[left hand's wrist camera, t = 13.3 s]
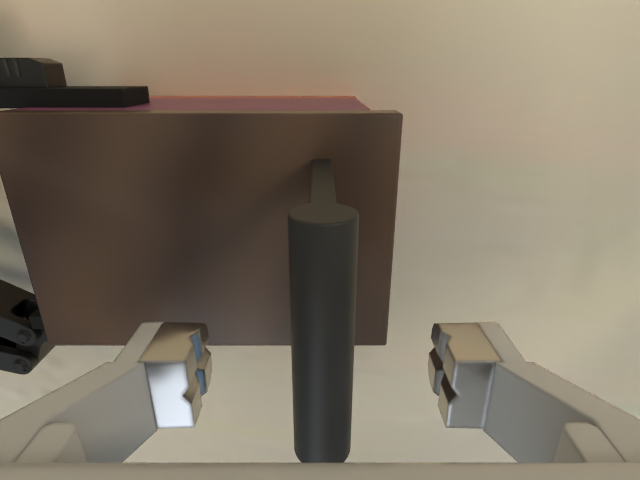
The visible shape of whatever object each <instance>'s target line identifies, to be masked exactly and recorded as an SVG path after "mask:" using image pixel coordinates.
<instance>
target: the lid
mask: <svg viewBox="0 0 640 480" xmlns="http://www.w3.org/2000/svg"><path fill="white" fill-rule="evenodd" d="M402 119H403V115H402V114H401V113H399V112H397V111H395V110H4V111H0V174H1V178H2V181H3V185H4V188H5V192H6V195H7V199H8V202H9V206H10V209H11V213H12V216H13V220H14V223H15V227H16V230H17V234H18V237H19V241H20V244H21V248H22V251H23V255H24V258H25V262H26V265H27V269H28V272H29V276H30V279H31V283H32V286H33V290H34V293H35V297H36V300H37V304H38V307H39V311H40V314H41V318H42V321H43V325H44V328H45V332H46V335H47V339H48V342H49V345H126V344H127V343H128V341H129V340H130V338H131V337H132V336H133V334H134V333H135V331H136V330H137V329H138V327H139V326H140V324H141V323H144V322H164V323H165V322H186V323H205V324H206V325H207V328H208V334H209V339H208V342H207V344H206V345H291V348H292V383H293V417H294V449H295V453H296V455H297V457H298V459H299V460H300V461H301V462H302V463H343V462H344V461H345V460H346V458H347V457H348V455H349V452H350V442H351V416H352V389H353V362H354V345H386V342H387V328H388V314H389V300H390V286H391V272H392V258H393V244H394V230H395V216H396V202H397V188H398V175H399V161H400V147H401V133H402Z"/></svg>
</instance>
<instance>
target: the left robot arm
mask: <svg viewBox="0 0 640 480" xmlns="http://www.w3.org/2000/svg"><path fill="white" fill-rule="evenodd" d="M208 339H209V334H208V328H207V325H206V324H205V323H186V322H165V323H164V322H144V323H141V324H140V326H139V327H138V329H137V330H136V331H135V333H134V334H133V336H132V337H131V338H130V340H129V341H128V343H127V344H126V345H125V347H124V348H123V350H122V351H121V352H120V354H119V355H118V357H117V358H116V359H115V361H114V362H107V363H105V364H103V365H101V366H99V367H97V368H96V369H94V370H92V371H90V372H88V373H86V374H84V375H83V376H81V377H79V378H77V379H75V380H73V381H71V382H70V383H68V384H66V385H64V386H62V387H60V388H58V389H57V390H55V391H53V392H51V393H49V394H47V395H45V396H43V397H42V398H40V399H38V400H36V401H34V402H32V403H30V404H29V405H27V406H25V407H23V408H21V409H19V410H17V411H16V412H14V413H12V414H10V415H8V416H6V417H4V418H3V419H1V420H0V480H640V420H639V419H637V418H635V417H633V416H632V415H630V414H628V413H626V412H624V411H622V410H621V409H619V408H617V407H615V406H613V405H611V404H609V403H608V402H606V401H604V400H602V399H600V398H598V397H596V396H595V395H593V394H591V393H589V392H587V391H585V390H583V389H582V388H580V387H578V386H576V385H574V384H572V383H570V382H569V381H567V380H565V379H563V378H561V377H559V376H557V375H556V374H554V373H552V372H550V371H548V370H546V369H544V368H543V367H541V366H539V365H537V364H535V363H533V362H526V361H525V359H524V358H523V357H522V355H521V354H520V352H519V351H518V350H517V348H516V347H515V345H514V344H513V343H512V341H511V340H510V339H509V337H508V336H507V334H506V333H505V332H504V330H503V329H502V327H501V326H500V325H499V324H498V323H497V322H475V323H437V324H434V325H433V328H432V334H431V339H432V342H433V344H434V347H435V348H434V349H433V350H432V351H431V352H430V353H429V362H428V369H429V379H430V384H431V387H432V390H433V392H434V393H435V394H437V395H438V396H439V401H438V407H439V410H440V413H441V415H442V418H443V421H444V424H445V426H446V428H480V429H483V431H485V432H486V433H487V434H488V435H489V436H490V437H491V438H492V439H493V440H494V441H495V442H496V443H498V444H499V445H500V446H501V447H502V448H503V449H504V450H505V451H506V452H507V453H508V454H509V455H511V456H512V457H513V458H514V459H515V460H516V461H517V462H518V463H122V462H123V461H124V460H125V459H126V458H128V457H129V456H130V455H131V454H132V453H133V452H134V451H135V450H136V449H137V448H138V447H139V446H141V445H142V444H143V443H144V442H145V441H146V440H147V439H148V438H149V437H150V436H151V435H152V434H154V433H155V432H156V431H157V429H159V428H194V427H195V424H196V421H197V418H198V416H199V413H200V410H201V407H202V401H201V396H202V395H203V394H205V393H206V392H207V390H208V387H209V384H210V379H211V372H212V360H211V353H210V352H209V351H208V350H207V349H206V344H207V342H208Z"/></svg>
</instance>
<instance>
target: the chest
mask: <svg viewBox="0 0 640 480" xmlns="http://www.w3.org/2000/svg"><path fill="white" fill-rule="evenodd" d="M149 100H150V103H146V104H141V105H136V106H131V107H125V108H76V107H27V108H19V109H11V110H370V109H369V108H367V107H366V106H365V105H364V104H362V103H361V102H360V101H358V100H357V99H356V97H354V96H149Z"/></svg>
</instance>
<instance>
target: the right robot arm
mask: <svg viewBox="0 0 640 480" xmlns="http://www.w3.org/2000/svg"><path fill="white" fill-rule="evenodd" d="M146 103H150V100H149V93H148V86H67V85H66V80H65V75H64V71H63V66H62V64H61V63H59V62H56V61H54V60H51V59H42V58H0V108H27V107H76V108H125V107H131V106H136V105H141V104H146ZM55 346H56V345H49V342H48V339H47V335H46V332H45V328H44V325H43V321H42V318H41V314H40V311H39V307H38V304H37V300H36V297H35V294H32V293H30V292H28V291H25V290H23V289H21V288H19V287H16V286H14V285H12V284H10V283H7V282H5V281H3V280H1V279H0V370H4V371H8V372H13V373H17V374H28V373H29V372H30V371H32V369H33V368H34V367H35V366H36V365H37V364H38V363H39V362H40V361H41V360H42V359H43V358H44V357H45V356H46V355H47V354H48V353H49V352H50V351H51V350H52V349H53V348H54V347H55Z"/></svg>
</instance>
